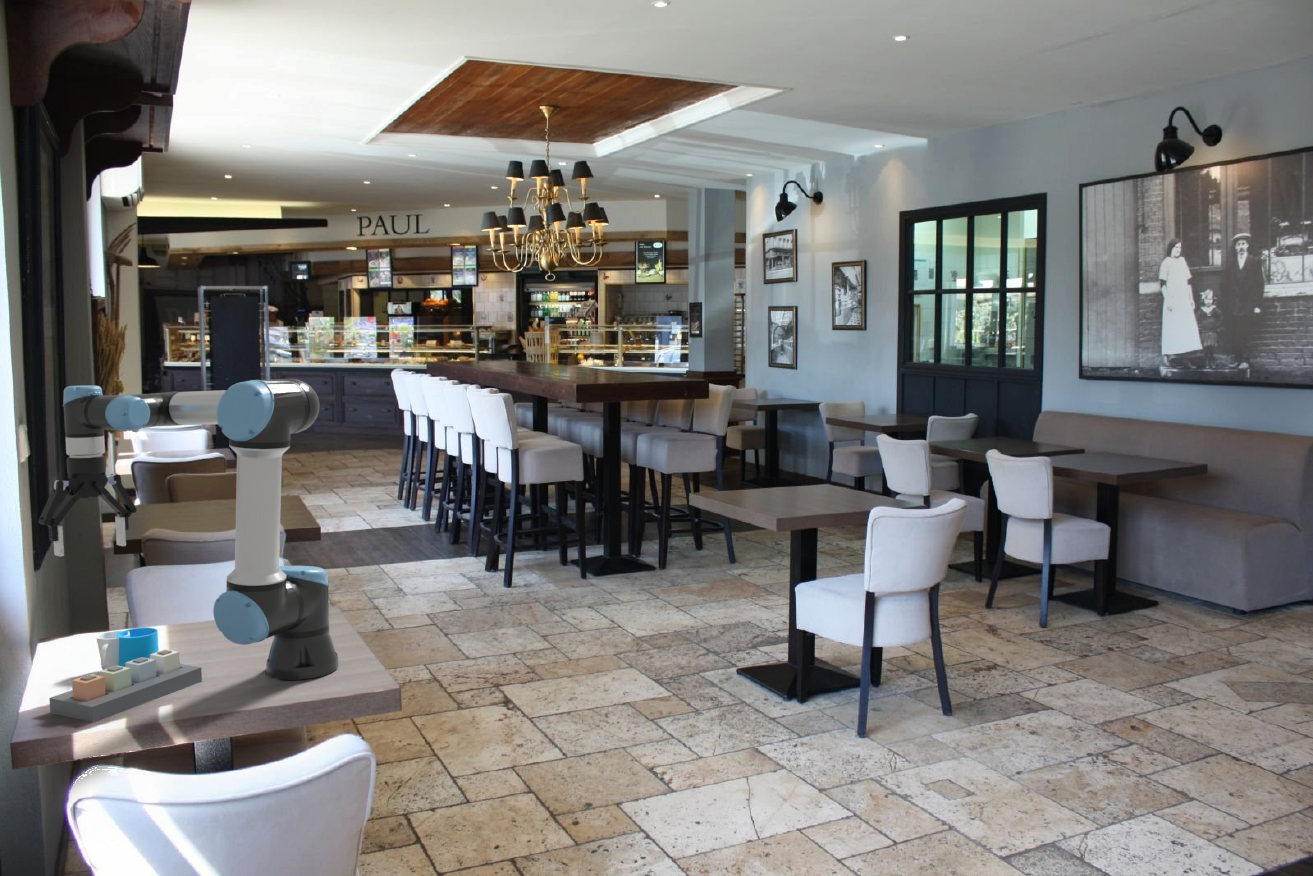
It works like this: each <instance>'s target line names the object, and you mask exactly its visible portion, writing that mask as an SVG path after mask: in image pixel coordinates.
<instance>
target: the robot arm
mask: <svg viewBox="0 0 1313 876" xmlns="http://www.w3.org/2000/svg"><path fill="white" fill-rule="evenodd" d="M62 402H63V404H62V408H63V418H64V432H65V451H66V452H65V453H66V455H68V457H67V458H66V470H67V471H66V472H67V480H59V479H54V480H52V483H51V484H52V485H51V491H50V494H49V496H48V499H46V502H45V505H44V508H43V510H42V512H41V514H40V516H39V517H38V518H39V519H38V524H40V525H45V526H47V528H48V537H49V538H48V539H49V540H50V542H53V553H54V556H57V557H60V558H61V557H64V556H65V549H64V529H63V526H62V525H60V524H61V522H62V521H63V519H64V518H65V517H66V516H67V514H68V513H69V511H70V510H71V509H72V507H73V506H74V505H75V503H76V502H78V501H79V500H80V499H88V498H90V497H91V498H98V496H99V497H100V498H101V499H102V500H103V501H104V502H105V503H106V504H107V505H108V506H109V507H110V508H111V509H112V510H113V511H114V512H116V514H117V515H118V516H115V517H114V520H115V538H116V546H119V547H126V546H127V538H126V531H129V527H130V525H129V518H130V517H131V515H132V514H134V513H136V512H137V511H138V509H137V506H135V504H134V502H133V501H132V499H131V497H130V495H129V494H128V492H127V490H126V488H125V487H124V484H123V482H122V477H121V475H120V474H119V473H118V474H117V473H111V474H109V475H106V471H107V467H106V466H107V464H106V457H105V455H103V454H105V453H106V445H105V431H106V430H107V431H120V432H133V431H135V432H136V431H140V430H142V429H146V428H153V427H155V428H156V427H166V426H167V427H168V426H192V425H193V426H196V425H197V426H198V425H200V426H201V425H203V426H204V425H208V426H209V425H218V427H220V428H221V433H222V434H223V435H224V436H225V437H226V438H228V439H229V440H228V441H229V442H228V445H229V448H231V450H232V451H233V452H234V453H235V454H236V485H235V488H236V489H235V490H236V491H235V492H236V493H235V494H236V495H235V496H236V497H235V533H234V534H235V535H234V536H235V538H234V539H235V542H234V544H235V545H234V547H235V548H234V569H233V570H232V571H230V573H228V574H227V576H226V584H225V585H226V588H225V589H226V590H225V592H222V593H221V594H220V595H218V598H216V600H214V601H215V602H214V604H213V611H212V612H213V614H212V615H213V619H214V622H215V625H216V627H217V629H218V631H219V632H221V634H222V635H223V636H224V637H225V638H226V639H227V640H228V641H230V642H231V643H234V644H236V645H241V646H247V645H251V644H255V643H261V642H263V641H265V640H267V639H268V638H271V637H273V640H272V642H271V646H270V649H269V655H268V658H267V660H266V662H265V663H266V664H265V667H266V668H265V670H266V673H265V674H266V675H267V676H269V677H270V678H274V679H276V680H277V679H278V680H284V681H285V680H286V681H287V680H288V681H299V680H308V679H314V678H319V677H323V676H325V675H326V676H327V675H328V674H331V673H333V672H335V671H336V670H338V668H339V654H338V653H337V652H336V650H335V646H334V643H333V639H332V637H331V634H330V604H329V601H330V600H329V599H330V598H329V592H330V591H329V587H330V584H329V581H328V580H329V578H328V577H329V576H328V572H327V571H326V569H324V568H322V567H319V566H312V565H311V566H310V565H282V566H280V552H281V551H280V550H281V549H280V548H281V547H280V546H281V544H280V543H281V511H282V509H281V508H282V506H281V503H282V500H281V499H282V467H283V466H282V462H283V454H285V452H287V451H288V450H289V449H290V448H291V434H292V435H293V434H298V433H301V432H302V431H303V432H304V431H306V430H307V429H308V428H310V427H311V426H312V425H313V424H314V422H315V421H316V420H317V418H318V416H319V413H320V400H319V397H318V395H317V393H316V391H315V390H314V388H312V386H311V385H309V384H308V383H307V382H304V380H303V381H302V380H300V379H296V378H279V379H278V378H277V379H250V380H246V381H241V382H237V383H235V384H232V385H231V386H229V388H227V390H224V389H222V390H200V391H199V390H197V391H196V390H195V391H167V392H156V393H140V394H125V395H124V394H123V395H104V394H103V390H102V387H101V386H99V385H70V386H66V387H65V388H64V390H63V401H62ZM104 430H105V431H104ZM108 483H109V485H111V487H112V489H113V490H114V492H115V494H116V495H117V497H118V499H119V501H120V502H121V503H120V502H119V501H118V500H117V499H116V498H115V497H114V496H113V495H112V494H111V492H109V491H108V489H106V485H107V484H108ZM66 488H68V489H69V491H68V493H67V494H66V495H65V498H64V499H63V501H62V502H61V503H60V504H59V502H60V500H61V498H62V496H63V492H64V491H65V490H66ZM58 505H59V506H58ZM57 506H58V507H57Z"/></svg>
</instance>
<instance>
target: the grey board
mask: <svg viewBox="0 0 1313 876" xmlns="http://www.w3.org/2000/svg"><path fill="white" fill-rule="evenodd" d="M202 676H203V673H202V667H200V666H195V665H189V664H184V663H180V669H178V670H175V671H172V672H169V673H166V674H161V673H156V677H155V678H152V679H150V680H147V681H144V682H141V683H138V682H133V681H131V684H132V686H130V687H127V688H124V689H121V690H119V691H116V692H112V691H107V690H105V695H104V696H102V697H99V698H96V699H93V700H90V701H88V702H87V701H82V700H77V699H73V689H72V690H68V691H65V692H63V693H60V694H57V695H54V696H51V697H49V712H50V714H53V715H59V716H64V717H68V718H72V719H76V720H77V719H78V720H81V721H86V722H91V723H94V722H95V723H96V722H97V721H100V720H103V719H105V718H108V717H110V716H111V717H112V716H114V715H116V714H118V713H122V712H124V711H127V710H129V709H130V710H131V708H135V707H137V706H139V705H140V706H141V705H142V704H146V703H148V702H150V701H153V700H156V699H158V698H161V697H164V696H166V695H169V694H171V693H174V692H177V691H181V690H183V689H185V688H188V687H190V686H193V685H195V684H198V683H201V682H203V681H202V680H203V679H202V678H203V677H202Z"/></svg>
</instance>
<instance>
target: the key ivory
mask: <svg viewBox="0 0 1313 876" xmlns="http://www.w3.org/2000/svg"><path fill="white" fill-rule="evenodd" d="M158 651H159V650H158ZM150 659H154V660H156V673H161V674H166V673H169V672H172V671H175V670H178V669H180V664H181V661H180V659H181V658H180V651H177V650H171V649H163V650H160V651H159V652H156V653H153V654H150Z"/></svg>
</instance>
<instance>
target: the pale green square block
mask: <svg viewBox="0 0 1313 876" xmlns="http://www.w3.org/2000/svg"><path fill="white" fill-rule="evenodd" d="M98 673H99V676H102V677H105V690H107V691H112V692H116V691H119V690H121V689H124V688H127V687H130V686H132V684H131V668H128V667H122V666H114V667H111V668H108V669H105V670H99V671H98Z"/></svg>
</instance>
